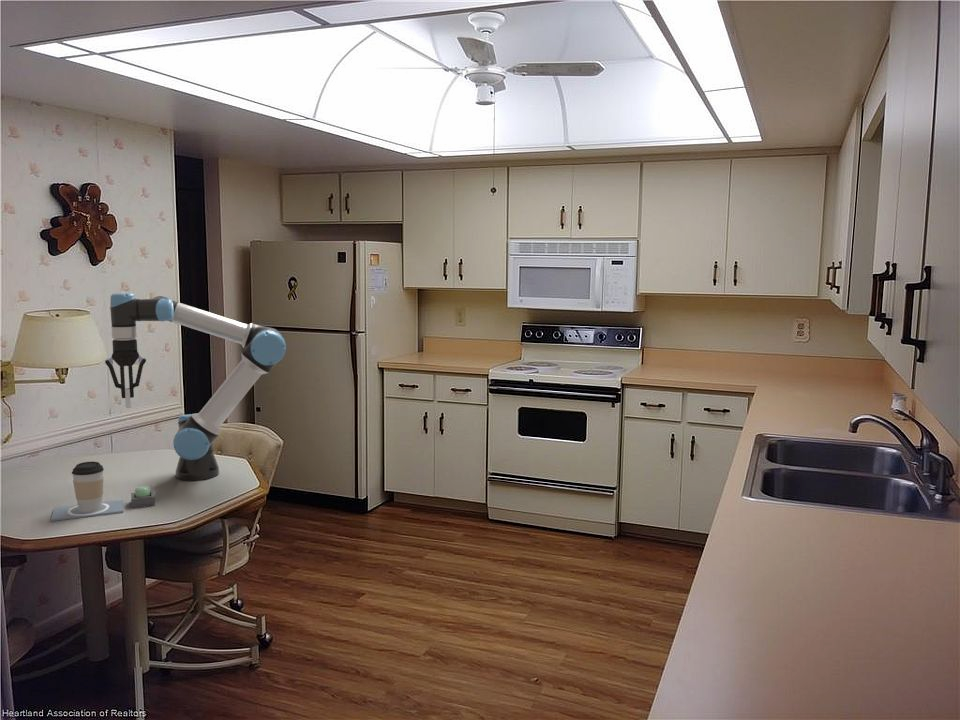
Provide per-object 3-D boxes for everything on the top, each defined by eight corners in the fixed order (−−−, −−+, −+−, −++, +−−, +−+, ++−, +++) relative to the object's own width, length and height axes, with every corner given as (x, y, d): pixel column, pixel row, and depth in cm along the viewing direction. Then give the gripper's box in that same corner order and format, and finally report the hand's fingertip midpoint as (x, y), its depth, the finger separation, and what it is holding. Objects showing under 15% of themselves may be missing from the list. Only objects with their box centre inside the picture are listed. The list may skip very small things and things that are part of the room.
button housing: (154, 499, 252) (154, 490, 252) (155, 505, 246) (154, 496, 246) (131, 501, 249) (131, 493, 249) (131, 508, 243) (131, 499, 243)
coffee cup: (70, 514, 235) (67, 468, 232) (78, 504, 243) (75, 460, 241) (102, 512, 237) (99, 466, 235) (108, 502, 246) (106, 458, 243)
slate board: (123, 501, 250) (123, 499, 250) (123, 512, 239) (122, 510, 239) (54, 509, 241) (54, 507, 241) (51, 521, 230) (50, 519, 230)
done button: (150, 497, 250) (149, 485, 250) (150, 501, 246) (149, 489, 246) (135, 498, 249) (135, 487, 248) (135, 502, 245) (135, 491, 244)
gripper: (145, 337, 260) (148, 403, 264) (103, 338, 255) (107, 406, 258) (145, 339, 253) (149, 407, 257) (102, 340, 248) (106, 410, 251)
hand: (128, 407), depth 257 cm, fingers closed
